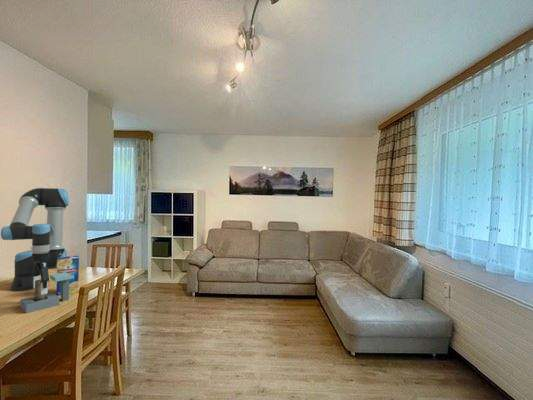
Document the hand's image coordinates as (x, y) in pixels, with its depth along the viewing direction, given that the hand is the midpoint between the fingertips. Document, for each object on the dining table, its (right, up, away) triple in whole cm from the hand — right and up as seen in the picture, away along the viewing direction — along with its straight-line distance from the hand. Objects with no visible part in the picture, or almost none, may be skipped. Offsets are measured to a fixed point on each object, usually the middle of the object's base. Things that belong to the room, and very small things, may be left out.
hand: (40, 290), depth 150 cm
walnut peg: (0, -8, 0) cm, 8 cm away
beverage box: (0, -8, +20) cm, 22 cm away
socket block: (0, -8, 0) cm, 8 cm away
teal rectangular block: (+5, -8, +8) cm, 12 cm away
